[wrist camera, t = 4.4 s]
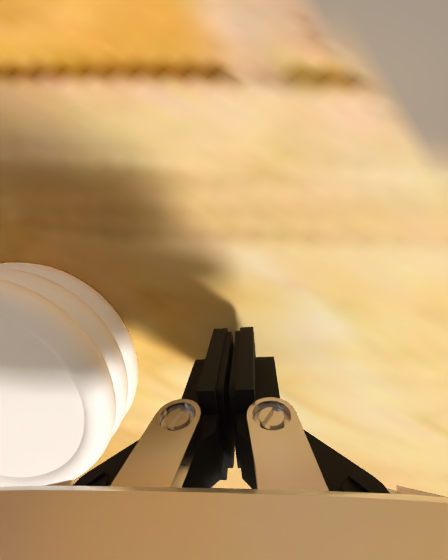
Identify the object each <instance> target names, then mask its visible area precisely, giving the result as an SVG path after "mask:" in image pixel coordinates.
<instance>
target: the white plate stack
mask: <svg viewBox="0 0 448 560" xmlns="http://www.w3.org/2000/svg"><path fill="white" fill-rule="evenodd" d="M137 382H138V361H137V355H136V351H135V347H134V344H133V341H132V338H131V336H130V334H129V332H128V329H127V328H126V326H125V324H124V323H123V321H122V319H121V318H120V316H119V315H118V314H117V312H116V311H115V310H114V308H113V307H112V306H111V305H110V304H109V303H108V302H107V301H106V300H105V299H104V298H103V297H102V296H101V295H100V294H99V293H98V292H97V291H95V290H94V289H93V288H92V287H90V286H89V285H88V284H86V283H84V282H83V281H81V280H80V279H78V278H76V277H74V276H72V275H70V274H68V273H66V272H64V271H61V270H58V269H56V268H53V267H49V266H45V265H40V264H32V263H21V262H13V263H1V264H0V487H5V486H45V485H49V484H54V483H59V482H63V481H68V480H74V479H75V478H77V477H79V476H80V475H82V474H83V473H84V472H86V471H87V470H88V469H89V468H90V467H91V466H92V465H93V464H94V463H95V462H96V461H97V460H98V459H99V458H100V456H101V455H102V454H103V453H104V451H105V449H106V447H107V445H108V443H109V441H110V438H111V437H112V436H113V435H114V433H115V432H116V431H117V429H118V427H119V425H120V423H121V421H122V419H123V417H124V416H125V415H126V414H127V412H128V410H129V408H130V406H131V405H132V402H133V399H134V396H135V393H136V388H137Z"/></svg>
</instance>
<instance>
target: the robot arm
mask: <svg viewBox="0 0 448 560" xmlns="http://www.w3.org/2000/svg"><path fill="white" fill-rule="evenodd" d="M235 449H236V457H237V465H238V468H241V471H242V478H243V480H244V481H245V482H246V483H247V484H248V485H249V486H250V487H251V488H252V489H226V488H213V485H215V484H216V483H217V482H218V481H219V480H227V470H228V468H233V466H234V452H235ZM0 560H448V497H444V496H440V495H436V494H431V493H427V492H422V491H418V490H414V489H409V488H405V487H401V486H397V491H395V490H391V489H386V487H385V486H384V485H383V484H382V483H381V482H380V481H378V480H377V479H376V478H375V477H374V476H372V475H371V474H369V473H368V472H366V471H365V470H363V469H362V468H360V467H359V466H357V465H356V464H354V463H353V462H351V461H350V460H348V459H347V458H345V457H344V456H342V455H341V454H339V453H338V452H336V451H335V450H333V449H332V448H330V447H329V446H327V445H326V444H324V443H323V442H321V441H320V440H318V439H317V438H315V437H314V436H312V435H311V434H309V433H308V432H306V431H305V430H303V428H302V425H301V423H300V421H299V418H298V416H297V413H296V411H295V410H294V408H293V406H292V405H290V404H289V403H288V402H287V401H284V400H282V399H280V396H279V389H278V382H277V375H276V368H275V362H274V357H256V354H255V343H254V331H253V327H242V328H240V331H236V332H235V341H234V343H233V334H232V331H230V332H228V330H227V328H224V329H214V331H213V335H212V338H211V342H210V345H209V348H208V352H207V355H206V359H203V360H196V361H195V362H194V365H193V368H192V371H191V374H190V377H189V379H188V382H187V385H186V388H185V391H184V394H183V396H182V399H179V400H174V401H172V402H169V403H167V404H166V405H164V406H163V407H162V408H160V410H159V411H158V412H157V413H156V415H155V416H154V418H153V419H152V421H151V422H150V424H149V426H148V427H147V429H146V430H145V432H144V433H143V435H142V437H141V438H140V439H139V440H138V441H136V442H135V443H133V444H132V445H130V446H128V447H127V448H125V449H124V450H122V451H121V452H119V453H117V454H116V455H114V456H113V457H111V458H110V459H108V460H106V461H105V462H103V463H102V464H100V465H98V466H97V467H95V468H94V469H92V470H91V471H89V472H87V473H86V474H85V475H84V476H82V477H81V478H80V479H79V480H78V481H77V482H76V483H75V484H73V482H72V480H68V481H63V482H59V483H54V484H49V485H45V486H5V487H0Z"/></svg>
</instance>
